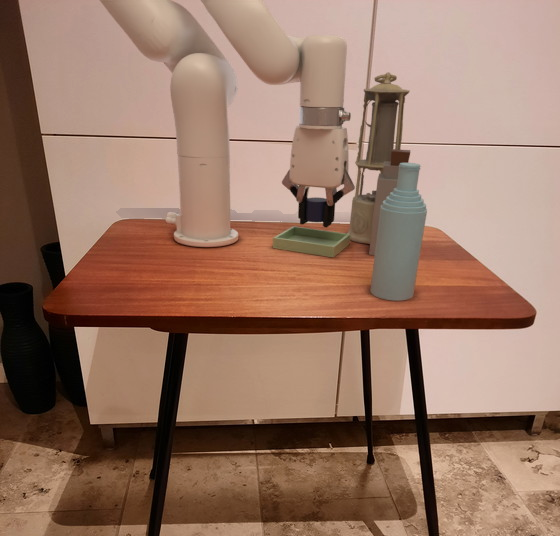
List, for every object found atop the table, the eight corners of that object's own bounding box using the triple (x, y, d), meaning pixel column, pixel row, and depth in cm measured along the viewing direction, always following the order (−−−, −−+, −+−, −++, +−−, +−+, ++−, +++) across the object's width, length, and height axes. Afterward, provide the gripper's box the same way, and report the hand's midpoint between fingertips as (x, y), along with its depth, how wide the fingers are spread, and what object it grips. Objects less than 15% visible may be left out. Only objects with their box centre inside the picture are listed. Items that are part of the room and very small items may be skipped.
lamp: (352, 245, 107) (369, 71, 93) (339, 228, 119) (352, 71, 104) (403, 245, 108) (427, 73, 94) (385, 228, 120) (405, 73, 105)
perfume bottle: (405, 258, 101) (421, 154, 92) (368, 254, 102) (380, 151, 93) (405, 248, 107) (420, 149, 98) (370, 245, 108) (382, 147, 99)
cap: (331, 220, 103) (332, 200, 101) (313, 223, 101) (314, 202, 99) (319, 216, 106) (320, 196, 104) (301, 218, 104) (301, 198, 102)
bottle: (365, 296, 83) (380, 164, 74) (376, 283, 88) (391, 159, 79) (408, 303, 81) (430, 169, 72) (416, 290, 86) (437, 163, 77)
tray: (272, 248, 104) (272, 237, 103) (292, 235, 112) (293, 226, 111) (333, 257, 100) (334, 246, 99) (349, 244, 108) (350, 234, 107)
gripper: (373, 119, 95) (363, 225, 104) (285, 115, 101) (283, 215, 110) (361, 122, 89) (352, 234, 98) (268, 117, 95) (267, 223, 103)
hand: (315, 223), depth 104 cm, fingers closed on cap, 4 cm apart
